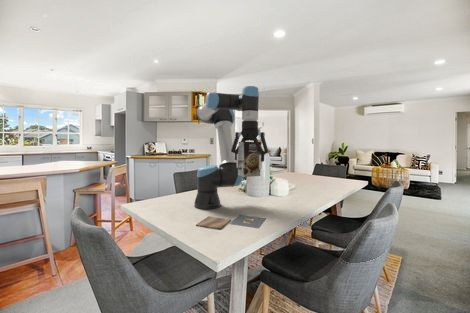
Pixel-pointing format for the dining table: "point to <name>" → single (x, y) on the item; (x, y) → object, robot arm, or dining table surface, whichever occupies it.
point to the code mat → (248, 221)
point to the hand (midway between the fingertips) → (249, 167)
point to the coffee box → (248, 159)
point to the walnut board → (213, 222)
